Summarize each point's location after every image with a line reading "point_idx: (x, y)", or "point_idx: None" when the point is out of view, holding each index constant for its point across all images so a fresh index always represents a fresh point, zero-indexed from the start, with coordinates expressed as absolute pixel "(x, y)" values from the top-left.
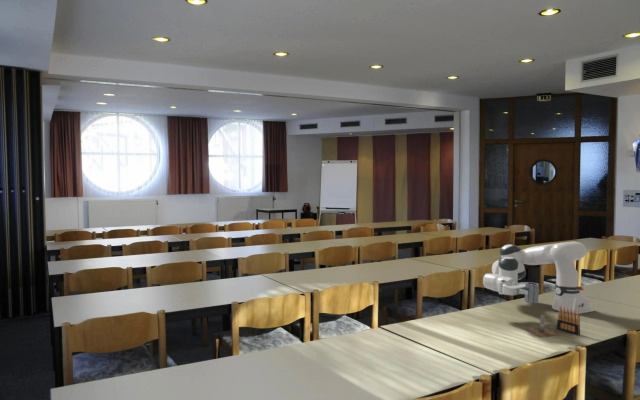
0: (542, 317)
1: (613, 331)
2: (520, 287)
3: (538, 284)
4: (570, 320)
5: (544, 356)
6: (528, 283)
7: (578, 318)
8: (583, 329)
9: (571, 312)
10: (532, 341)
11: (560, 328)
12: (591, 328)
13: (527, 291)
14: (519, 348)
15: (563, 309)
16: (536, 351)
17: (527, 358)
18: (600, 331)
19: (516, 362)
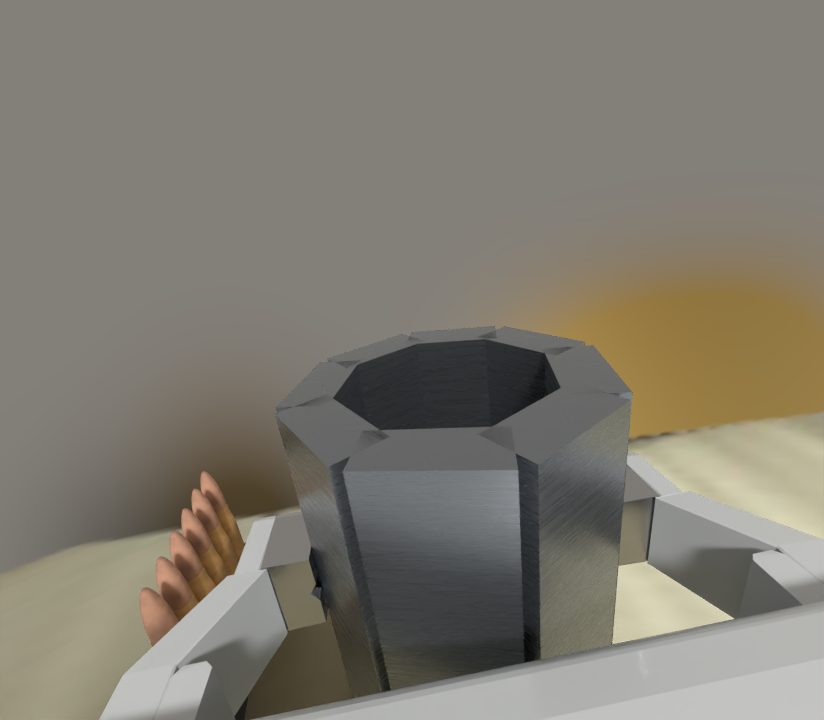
0: None
1: (19, 588)
2: (802, 605)
3: (369, 347)
4: (228, 575)
5: (663, 441)
6: (477, 446)
7: (229, 512)
8: (76, 677)
9: (203, 526)
10: (646, 578)
11: (239, 709)
12: (5, 677)
13: (630, 453)
14: (779, 514)
15: (178, 574)
16: (682, 476)
17: (755, 438)
18: (66, 608)
19: (819, 423)
